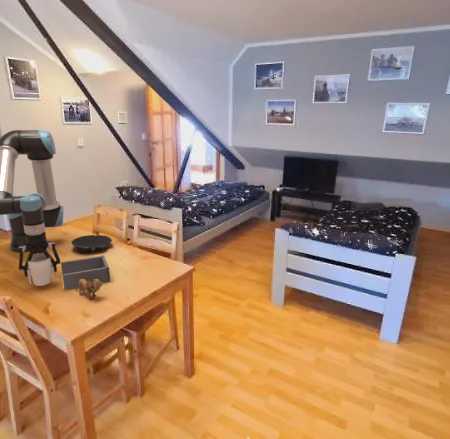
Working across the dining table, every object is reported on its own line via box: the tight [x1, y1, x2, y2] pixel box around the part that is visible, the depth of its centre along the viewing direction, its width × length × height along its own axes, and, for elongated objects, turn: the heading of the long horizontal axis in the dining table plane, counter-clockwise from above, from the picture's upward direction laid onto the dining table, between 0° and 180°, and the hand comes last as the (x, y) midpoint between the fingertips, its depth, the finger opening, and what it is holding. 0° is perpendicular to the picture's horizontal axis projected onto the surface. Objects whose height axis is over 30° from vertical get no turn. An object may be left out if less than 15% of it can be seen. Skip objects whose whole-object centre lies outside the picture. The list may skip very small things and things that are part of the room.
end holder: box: [60, 255, 111, 291], centre depth 156 cm, size 14×20×7 cm
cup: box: [28, 253, 52, 287], centre depth 146 cm, size 9×9×12 cm
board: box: [71, 234, 113, 253], centre depth 189 cm, size 22×22×5 cm
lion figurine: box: [74, 279, 104, 301], centre depth 142 cm, size 15×5×9 cm, turn 66°
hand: (42, 280), depth 148 cm, fingers closed on cup, 9 cm apart
